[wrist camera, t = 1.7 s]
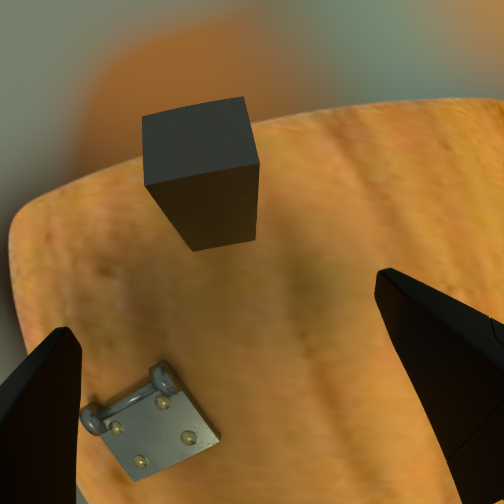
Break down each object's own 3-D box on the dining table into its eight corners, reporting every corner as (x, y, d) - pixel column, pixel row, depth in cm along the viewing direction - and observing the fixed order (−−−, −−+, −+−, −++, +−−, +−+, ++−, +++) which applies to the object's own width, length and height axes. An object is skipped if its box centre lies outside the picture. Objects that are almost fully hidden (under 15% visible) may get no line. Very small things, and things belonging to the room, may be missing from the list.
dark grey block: (255, 239, 22) (259, 163, 12) (192, 251, 22) (144, 185, 12) (246, 194, 23) (243, 96, 13) (186, 206, 23) (142, 116, 12)
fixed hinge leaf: (221, 436, 19) (218, 448, 17) (139, 475, 18) (128, 488, 16) (167, 358, 21) (157, 361, 18) (89, 404, 20) (74, 410, 17)
